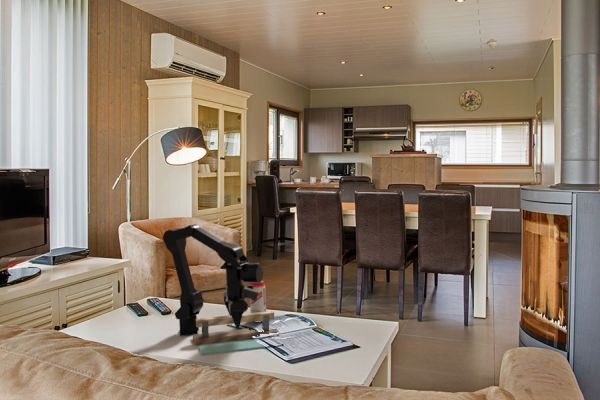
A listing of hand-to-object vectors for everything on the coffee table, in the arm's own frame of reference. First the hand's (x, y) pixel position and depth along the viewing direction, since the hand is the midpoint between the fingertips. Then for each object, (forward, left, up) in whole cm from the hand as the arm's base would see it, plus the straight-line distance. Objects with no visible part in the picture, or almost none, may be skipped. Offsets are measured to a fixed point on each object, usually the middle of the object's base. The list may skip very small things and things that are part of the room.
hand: (235, 324), depth 192 cm
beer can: (+12, +18, -5) cm, 22 cm away
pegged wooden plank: (0, 0, -3) cm, 3 cm away
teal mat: (0, -11, -5) cm, 12 cm away
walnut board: (0, 0, -5) cm, 5 cm away
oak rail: (0, 0, +1) cm, 1 cm away
